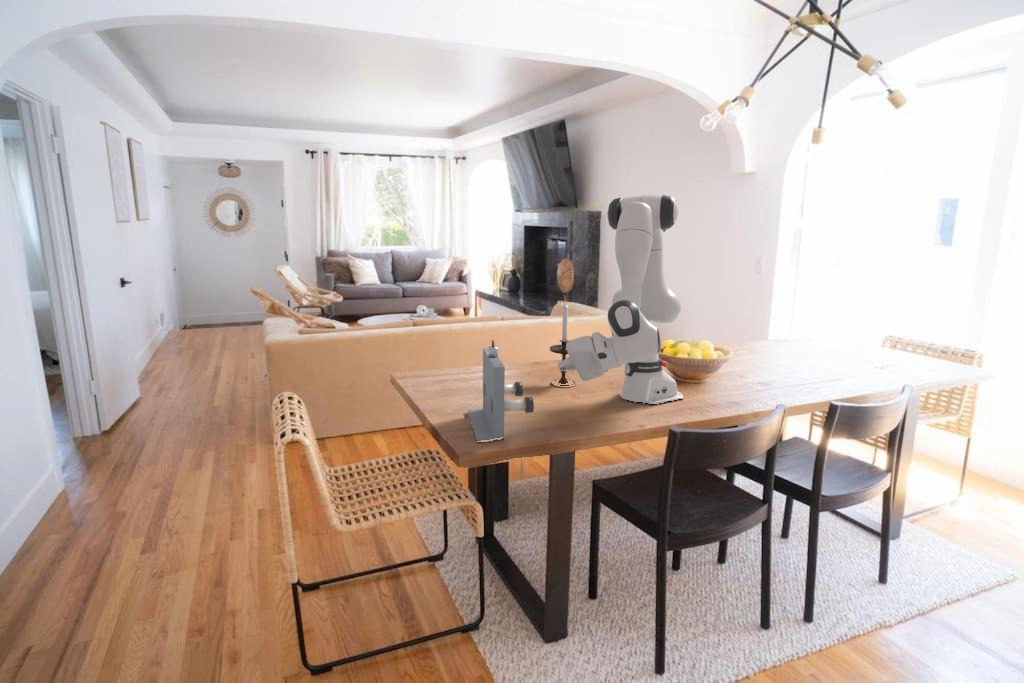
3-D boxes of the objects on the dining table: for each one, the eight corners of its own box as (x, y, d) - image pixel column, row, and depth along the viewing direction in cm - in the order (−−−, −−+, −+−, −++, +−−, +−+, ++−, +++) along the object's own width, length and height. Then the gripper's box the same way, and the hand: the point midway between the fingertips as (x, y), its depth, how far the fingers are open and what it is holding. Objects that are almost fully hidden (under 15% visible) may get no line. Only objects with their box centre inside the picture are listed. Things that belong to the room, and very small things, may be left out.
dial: (496, 355, 178) (496, 339, 176) (498, 357, 175) (498, 341, 174) (487, 355, 177) (487, 339, 176) (489, 358, 174) (489, 341, 173)
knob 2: (530, 409, 176) (530, 394, 175) (533, 414, 171) (533, 399, 170) (497, 411, 174) (497, 396, 173) (499, 416, 169) (500, 401, 168)
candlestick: (546, 387, 221) (548, 295, 213) (551, 379, 231) (553, 291, 224) (575, 389, 218) (578, 296, 211) (579, 381, 229) (582, 292, 221)
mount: (491, 411, 193) (491, 346, 189) (504, 441, 168) (505, 367, 164) (467, 412, 192) (466, 347, 187) (477, 443, 167) (476, 368, 162)
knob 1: (520, 393, 191) (520, 379, 190) (522, 397, 186) (523, 383, 185) (489, 394, 189) (489, 381, 188) (491, 399, 185) (491, 385, 184)
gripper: (609, 360, 178) (565, 372, 181) (596, 328, 162) (548, 342, 164) (613, 379, 175) (569, 390, 178) (600, 348, 158) (551, 361, 161)
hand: (558, 367), depth 171 cm, fingers closed
